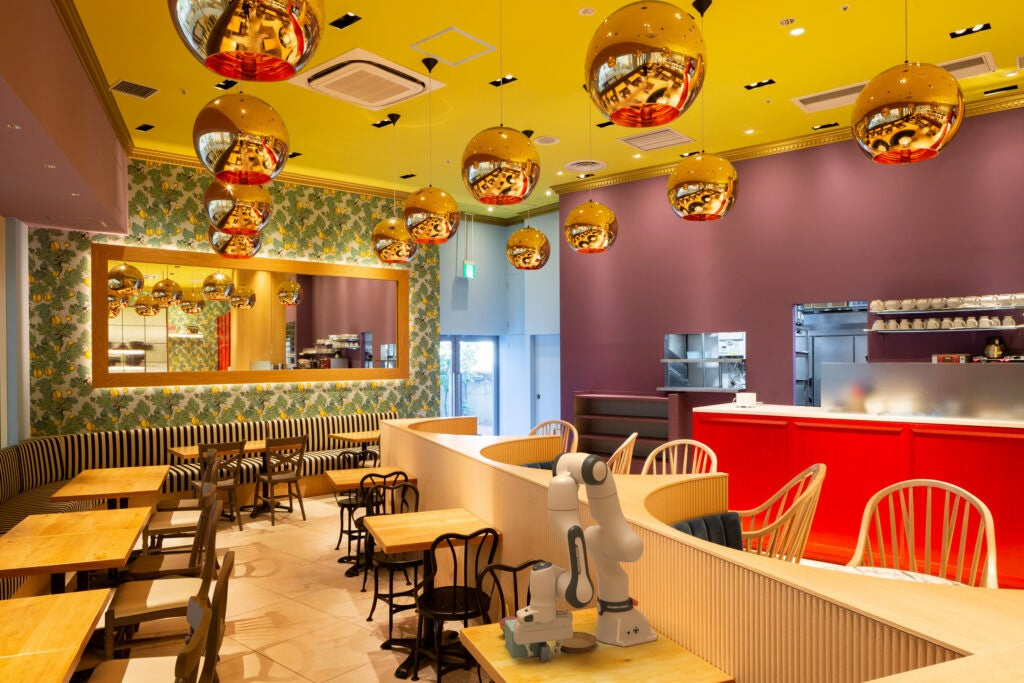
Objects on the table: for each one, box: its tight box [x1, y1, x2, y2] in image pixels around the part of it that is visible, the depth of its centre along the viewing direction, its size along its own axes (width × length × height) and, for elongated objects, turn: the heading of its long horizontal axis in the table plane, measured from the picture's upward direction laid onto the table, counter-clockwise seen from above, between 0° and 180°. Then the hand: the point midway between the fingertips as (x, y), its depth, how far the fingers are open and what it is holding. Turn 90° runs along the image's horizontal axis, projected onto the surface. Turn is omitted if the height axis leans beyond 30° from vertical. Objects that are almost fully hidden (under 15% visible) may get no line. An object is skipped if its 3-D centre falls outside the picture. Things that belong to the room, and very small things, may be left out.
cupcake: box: [498, 602, 518, 638], centre depth 245 cm, size 9×8×12 cm
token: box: [537, 642, 551, 664], centre depth 225 cm, size 3×5×5 cm, turn 13°
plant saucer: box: [555, 630, 598, 653], centre depth 236 cm, size 15×15×3 cm
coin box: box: [504, 619, 538, 659], centre depth 233 cm, size 12×11×9 cm
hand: (543, 654), depth 225 cm, fingers open, 8 cm apart
